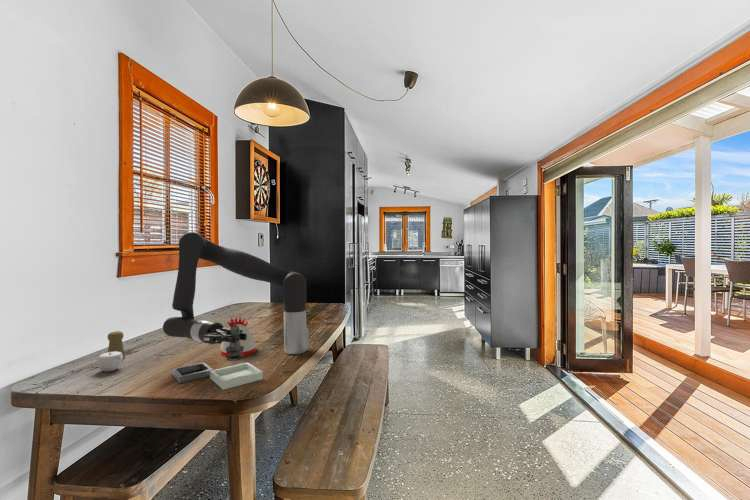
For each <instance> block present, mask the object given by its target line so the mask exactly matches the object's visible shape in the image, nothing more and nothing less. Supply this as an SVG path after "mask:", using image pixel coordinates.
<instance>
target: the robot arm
mask: <svg viewBox="0 0 750 500" xmlns="http://www.w3.org/2000/svg"><path fill="white" fill-rule="evenodd" d="M199 259H200V260H204V261H207V262H211V263H214V264H216V265H218V266H219V267H222V268H223V269H225V270H227V271H230V272H232V273H234V274H237V275H239V276H241V277H245V278H248V279H252V280H255V281H260V282H267V283H270V284H272V285H275V286H277V287H279V288H281V289H283V349H284V350H283V352H284V353H285V354H287V355H288V354H289V355H299V354H302V353H305V352H307V351H310V350H309V327H307V281H306V278H305V277H304V275H303V274H301V273H299V272H296V271H292V270H287V269H285V268H281V267H278V266H276V265H274V264H272V263H269V262H268V261H266V260H264V259H262V258H259V257H258V256H255V255H253V254H250V253H248V252H245V251H242V250H238V249H234V248H231V247H230V248H229V247H224V246H221V245H219V244H217V243H215V242H213V241H210V240H208V239H206V238H205V237H203V236H202V235H201V234H199V232H194V231H189V232H186V233H184V234H183V235H182V236H180V238H179V240H178V267H177V268H178V269H177V275H176V276H177V277H176V283H175V287H174V291H173V299H172V305H171V307H172V309H173V310H174V311H179V312H180V314H181V316H171V317H169V318H167V319H166V320H165V321H164V322H163V325H162V330H163V333H165V335H166V336H168V337H173V338H186V339H190V340H194V341H197V342H200V343H204V344H209V345H216V344H218V345H219V344H222V342H225V343H226V342H230V343H236V342H237V339H236V336H232V335H230V328H228V327H225V326H224V325H223V324H222V323H220V322H218V321H217V322H216V321H211V320H201V319H195V314H194V313H195V312H194V301H195V296H196V295H195V294H196V285H197V283H196V282H197V268H198V263H199ZM239 335H240V336H241V337H240V340H246V339H247V334H246V333H243V330H242V329H240V328H239Z"/></svg>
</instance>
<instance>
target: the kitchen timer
mask: <svg viewBox="0 0 750 500" xmlns="http://www.w3.org/2000/svg"><path fill="white" fill-rule="evenodd" d="M238 318H239V319H238ZM238 318H237V316H236V317H235V319H233V317H230V322H229V321H227V324H228V325H229V327H230V328H231V327H232V326H234V324H236V326H238V327H239V328H240V329H242V330H243V333H246V334H247V339H246V340H240V345H241V346H244V348H243V352H242V353H241V354H240V355H241V356H243V357H245V356H249V355H251V353H252V354H254V353H255V352H256V351H257V345H256V340H255V337H254V334H253V332H251V329H249V328H248V326H247V325H248V323H249V321H248V320H247V321H246V322H245V319H246V318H243V319H242V318H241V316H239V317H238ZM229 345H230V342H226V343H225V342H222V343H221V346H220V355H221V356H222V355H223V356H222V357H225V356H228V357H229V355H228V354H227V352H226V348H227V347H229ZM248 354H249V355H248ZM228 357H227V358H228Z"/></svg>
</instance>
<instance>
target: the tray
mask: <svg viewBox="0 0 750 500" xmlns="http://www.w3.org/2000/svg"><path fill="white" fill-rule="evenodd" d="M263 373H264V371H262V370H261V369H259V368H258V367H256V366H254V365H253V364H252V363H249V362H243V363H238V364H234V365H231V366H224V367H222V368H221V367H220V368H216V369H213V370H212V371H210V376H209V379H210V380H212V382H213V383H215V384H216V385H217V386H218V387H219V388H220V389H222V390H223V391H224V390H227V389H231V388H234V387H238V386H239V387H240V386H241V385H246V384H250V383H253V382H256V381H257V382H258V381H261V380H263V379H264V374H263Z"/></svg>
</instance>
